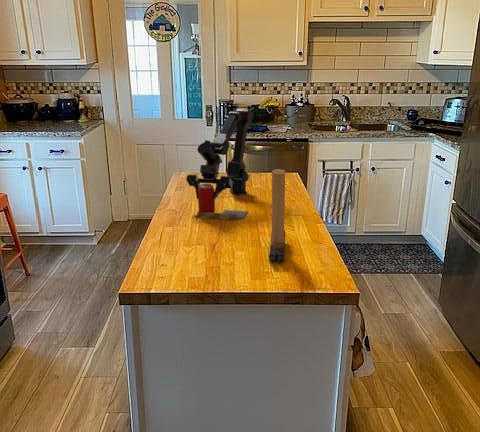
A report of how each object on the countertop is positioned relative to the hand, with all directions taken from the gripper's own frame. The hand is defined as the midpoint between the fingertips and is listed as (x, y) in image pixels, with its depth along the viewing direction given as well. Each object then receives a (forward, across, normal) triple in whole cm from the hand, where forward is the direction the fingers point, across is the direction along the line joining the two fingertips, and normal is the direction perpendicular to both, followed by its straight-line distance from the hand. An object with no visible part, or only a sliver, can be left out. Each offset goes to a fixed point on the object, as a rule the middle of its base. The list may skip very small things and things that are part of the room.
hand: (205, 199), depth 196 cm
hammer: (+28, +35, -18) cm, 49 cm away
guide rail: (+7, +6, +2) cm, 10 cm away
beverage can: (+4, 0, +6) cm, 7 cm away
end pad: (+4, +12, +6) cm, 13 cm away
